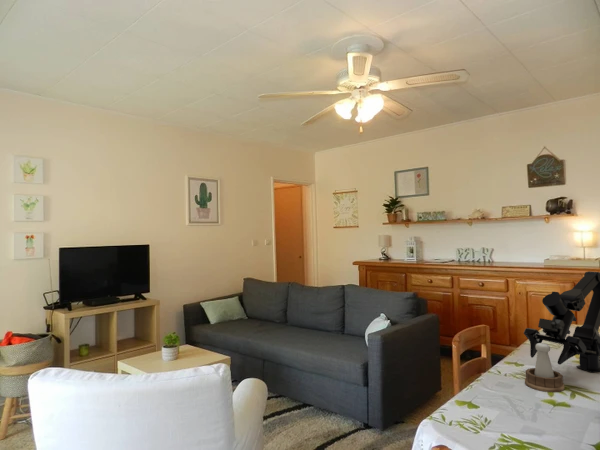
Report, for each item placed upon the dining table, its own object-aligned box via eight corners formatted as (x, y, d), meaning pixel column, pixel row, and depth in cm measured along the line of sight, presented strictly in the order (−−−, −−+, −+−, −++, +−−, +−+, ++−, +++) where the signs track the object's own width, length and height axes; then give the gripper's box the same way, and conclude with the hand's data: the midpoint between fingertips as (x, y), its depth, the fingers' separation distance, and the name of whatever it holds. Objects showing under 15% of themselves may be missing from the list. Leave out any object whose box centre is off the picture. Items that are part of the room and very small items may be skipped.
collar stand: (542, 377, 144) (542, 365, 144) (573, 389, 132) (572, 376, 133) (517, 381, 140) (516, 370, 140) (545, 394, 129) (545, 381, 129)
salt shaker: (558, 384, 134) (556, 345, 134) (543, 385, 133) (541, 346, 134) (545, 378, 140) (543, 341, 140) (531, 379, 139) (529, 342, 139)
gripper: (525, 306, 148) (508, 340, 143) (579, 314, 132) (562, 353, 126) (538, 324, 152) (522, 358, 146) (593, 334, 135) (577, 373, 130)
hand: (544, 360), depth 137 cm, fingers open, 9 cm apart
